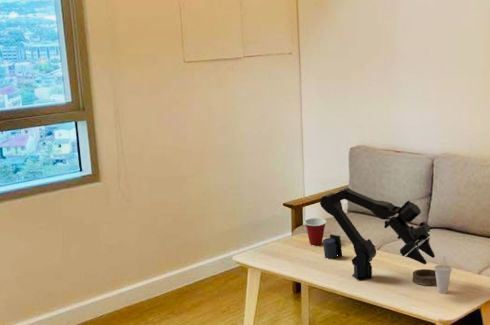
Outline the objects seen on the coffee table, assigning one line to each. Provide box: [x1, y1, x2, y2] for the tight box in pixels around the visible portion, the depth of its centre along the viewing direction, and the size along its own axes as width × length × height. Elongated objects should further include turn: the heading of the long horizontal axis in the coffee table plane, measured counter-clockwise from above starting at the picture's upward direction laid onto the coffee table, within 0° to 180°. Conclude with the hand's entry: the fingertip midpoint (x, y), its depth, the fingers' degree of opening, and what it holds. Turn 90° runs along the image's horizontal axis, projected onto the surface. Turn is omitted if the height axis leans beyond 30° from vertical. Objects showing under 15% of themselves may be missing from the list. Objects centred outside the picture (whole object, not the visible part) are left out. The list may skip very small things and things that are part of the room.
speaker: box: [322, 234, 343, 260], centre depth 289 cm, size 8×6×10 cm
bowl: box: [412, 268, 437, 287], centre depth 255 cm, size 12×12×3 cm
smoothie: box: [433, 256, 453, 294], centre depth 242 cm, size 6×6×14 cm
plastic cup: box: [304, 217, 327, 246], centre depth 310 cm, size 11×11×12 cm
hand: (430, 260), depth 244 cm, fingers open, 9 cm apart
